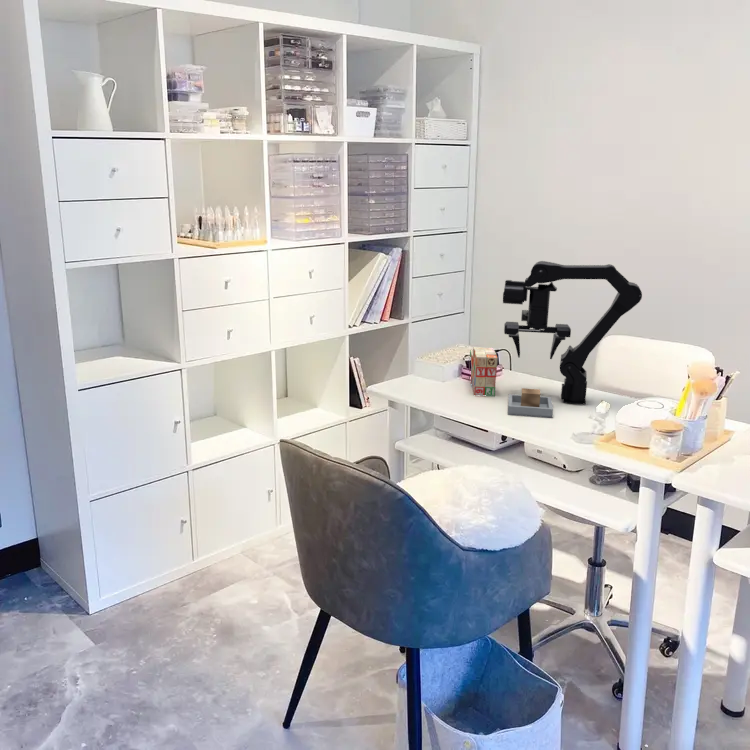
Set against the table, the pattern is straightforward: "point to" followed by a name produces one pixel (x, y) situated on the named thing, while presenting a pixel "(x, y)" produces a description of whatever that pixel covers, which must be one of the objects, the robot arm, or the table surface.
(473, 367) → the stack of blocks
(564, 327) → the robot arm
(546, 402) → the grey tray
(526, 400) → the walnut cube
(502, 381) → the table surface
